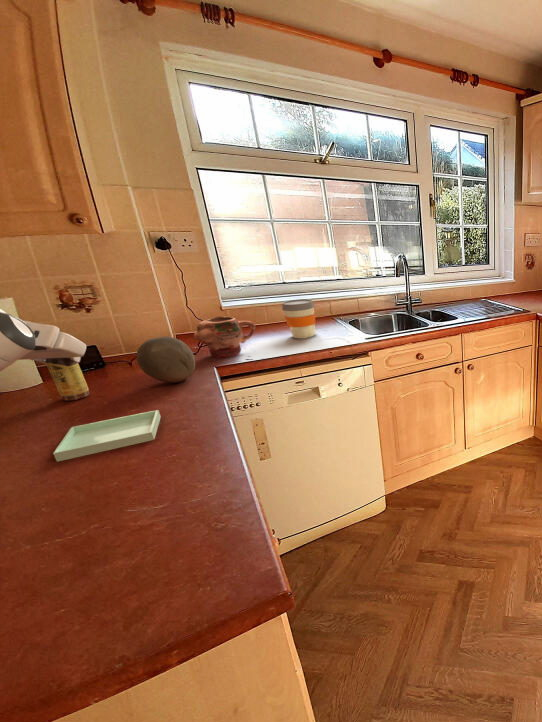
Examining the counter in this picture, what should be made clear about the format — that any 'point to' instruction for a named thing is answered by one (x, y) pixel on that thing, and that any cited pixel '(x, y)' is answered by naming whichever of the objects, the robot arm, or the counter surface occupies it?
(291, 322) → the reusable coffee cup
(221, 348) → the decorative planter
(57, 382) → the sauce bottle
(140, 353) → the cantaloupe
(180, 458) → the counter surface
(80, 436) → the plastic tray
